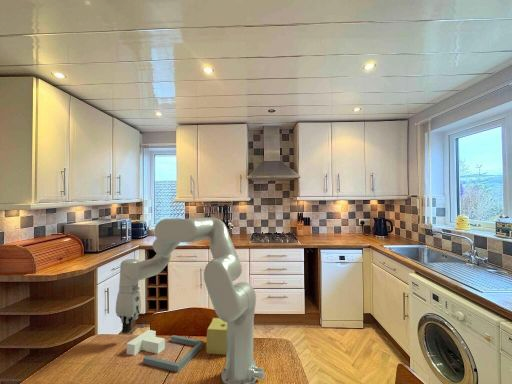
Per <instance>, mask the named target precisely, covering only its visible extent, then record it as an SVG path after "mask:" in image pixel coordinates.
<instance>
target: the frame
mask: <svg viewBox="0 0 512 384" xmlns="http://www.w3.org/2000/svg"><path fill="white" fill-rule="evenodd" d="M170 341H171V342H172V343H175V344H176V343H178V344H183V345H188V346H192V348H191V350H189V351H188V352H187V353H186V354H185V355H184V356H183V357H182V358H181V359H180V360H179V361H178V362H175V361H174V362H173V361H170V360H167V359H161V358H157V357H153V356H149V355H145V356H143V359H142V364H143V365H146V366H147V365H148V366H152V367H155V368H160V369H164V370H167V371H171V372H175V373H179V372H180V371H181V370H182V369H183V368H184V367H185V366H186V365H187V364H188V363H189V362H190V361H191V360H192V359H193V358H194V357H195V356H196V355H197V354H198V353H199V351H200V350H201V349H203V348H204V347H205V341H204V340H201V339H195V338H190V337H185V336H180V335H175V334H173V335H172V336H170Z"/></svg>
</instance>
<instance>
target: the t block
mask: <svg viewBox="0 0 512 384" xmlns="http://www.w3.org/2000/svg"><path fill="white" fill-rule="evenodd" d="M156 331H157V330H152V329H147V330H146V331H144V332H142V333H141V334H139V335H138V336H136V337H135V338H133V339H132V340H130V341H128V342H127V343H126V355H130V356H136V355H137V354H138V353H140V352H142V351H143V350H145V351H144V352H148V353H153V354H156V355H158V354H160V353H161V352H162V351H164V350H165V348H166V345H165V344H166V342H165V341H166V338H163V337H159V336H157V335H156V334H157V333H156ZM141 350H142V351H141Z"/></svg>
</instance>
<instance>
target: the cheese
mask: <svg viewBox="0 0 512 384" xmlns="http://www.w3.org/2000/svg"><path fill="white" fill-rule="evenodd" d="M226 333H227V322H224V321H222V320H221V319H220V318H219V317H212V320H211V322H210V324H209V326H208V327H207V329H206V354H209V355H223V356H224V355H225V356H226Z"/></svg>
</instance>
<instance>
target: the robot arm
mask: <svg viewBox="0 0 512 384" xmlns="http://www.w3.org/2000/svg"><path fill="white" fill-rule="evenodd" d="M153 233H154V236H155V240H154V241H153V242H152V248H153V251H154V252H155V253H156V254H155V255H154V256H153V257H152V258H150V259H145V260H141V261H139V260H138V259H136V258H128V259H124V260H122V261H121V262H120V266H119V267H120V269H119V284H118V285H119V288H118V292H117V296H116V301H115V314H116V317H118V318H120V321H121V324H122V330H121V332H122V334H127V333H128V332H131V330H132V322H133V321H134V320H135V321H136V320H138V319H139V314H141V311H142V298H141V297H142V296H141V292H140V287H139V282H140V281H143V280H145V279H148V278H151V277H154V276H157V275H159V274H160V273H161V272H162V271H164V269H165V268H166V266H168V265H169V263H170V261H171V257H172V252H174V250H175V249H176V248H178V246H179V245H180V244H181V243H194V242H199V241H202V240H209V249H210V253H211V255H212V259H211V260H210V261H209V262H208V263H207V264H206V265H205V268H204V270H203V271H204V272H203V281H204V284H205V286H206V289H207V293H208V295H209V298H210V301H211V304H212V307H213V309H214V313H216V316H217V318H220V319H221V320H222V321H224V322H227V333H226V355H225V366H224V368H223V369H222V371H221V375H220V377H221V381H222V383H223V384H255V383H256V381H257V379H261V380H264V379H265V375H266V372H264V367H261V366H260V367H259V366H257V365H256V364H257V363H256V360H254V332H255V331H254V329H255V328H254V327H255V326H254V324H255V322H254V321H255V311H256V310H255V309H256V302H257V295H256V290H255V289H254V287H253V286H252V285H251V284H250V283H249V282H246V281H241V282H240V281H239V282H237V283H235V284H234V281H236V280H238V278H239V277H241V274H242V273H243V267H242V264H241V261H240V258H239V256H238V253H237V251H236V248H235V245H234V243H233V241H232V239H231V236H230V233H229V229H228V227H227V225H226V224H225V222H224V221H222V220H221V219H220V218H217V217H193V218H191V217H190V218H179V217H178V218H177V217H176V218H175V217H173V218H163V219H161V220H159V221H158V222H157V223H156V224H155V226H154V231H153Z"/></svg>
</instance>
